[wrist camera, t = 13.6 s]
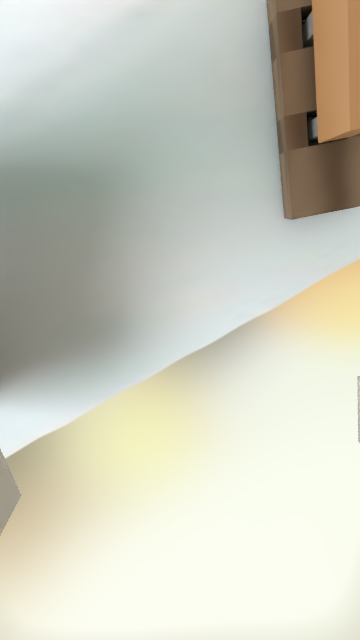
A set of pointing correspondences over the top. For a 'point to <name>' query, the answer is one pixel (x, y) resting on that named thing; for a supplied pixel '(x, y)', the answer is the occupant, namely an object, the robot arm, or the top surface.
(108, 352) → the top surface
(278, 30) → the rail
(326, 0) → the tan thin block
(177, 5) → the top surface
